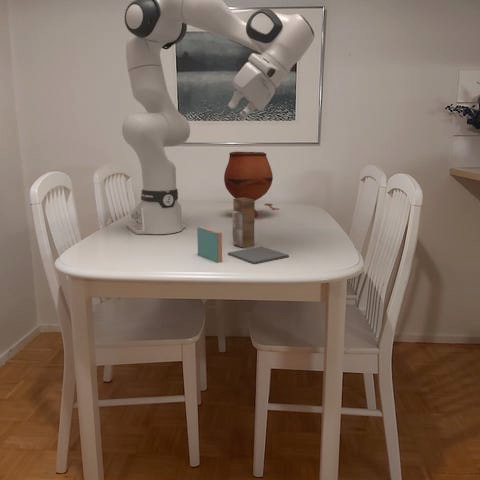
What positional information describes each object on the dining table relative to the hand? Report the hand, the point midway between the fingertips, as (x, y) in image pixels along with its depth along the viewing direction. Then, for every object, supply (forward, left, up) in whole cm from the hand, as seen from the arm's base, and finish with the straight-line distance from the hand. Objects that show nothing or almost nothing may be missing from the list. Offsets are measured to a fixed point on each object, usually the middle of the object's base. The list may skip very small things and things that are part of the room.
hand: (236, 112), depth 136 cm
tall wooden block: (-1, +4, -39) cm, 39 cm away
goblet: (-39, +34, -39) cm, 64 cm away
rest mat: (+11, 0, -39) cm, 40 cm away
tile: (+5, -12, -39) cm, 41 cm away
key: (-50, +56, -39) cm, 84 cm away
